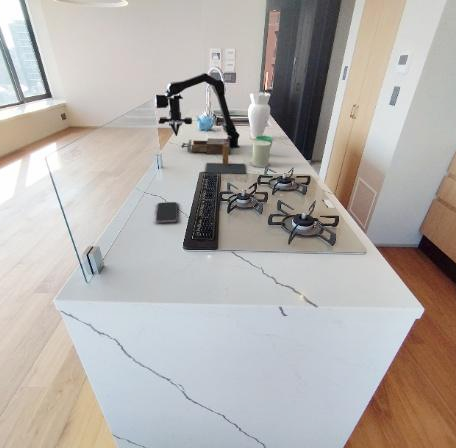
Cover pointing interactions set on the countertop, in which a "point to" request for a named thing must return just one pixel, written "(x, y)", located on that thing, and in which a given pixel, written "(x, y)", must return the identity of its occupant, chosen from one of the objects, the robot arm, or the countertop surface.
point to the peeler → (225, 153)
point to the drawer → (196, 146)
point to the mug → (265, 139)
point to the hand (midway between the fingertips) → (176, 135)
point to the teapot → (205, 122)
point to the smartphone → (166, 212)
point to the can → (261, 153)
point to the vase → (258, 113)
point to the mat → (225, 168)
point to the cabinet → (216, 146)
